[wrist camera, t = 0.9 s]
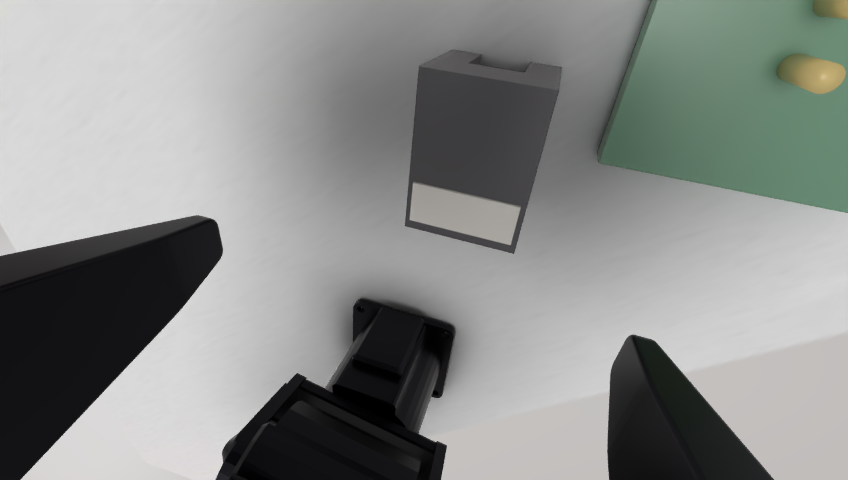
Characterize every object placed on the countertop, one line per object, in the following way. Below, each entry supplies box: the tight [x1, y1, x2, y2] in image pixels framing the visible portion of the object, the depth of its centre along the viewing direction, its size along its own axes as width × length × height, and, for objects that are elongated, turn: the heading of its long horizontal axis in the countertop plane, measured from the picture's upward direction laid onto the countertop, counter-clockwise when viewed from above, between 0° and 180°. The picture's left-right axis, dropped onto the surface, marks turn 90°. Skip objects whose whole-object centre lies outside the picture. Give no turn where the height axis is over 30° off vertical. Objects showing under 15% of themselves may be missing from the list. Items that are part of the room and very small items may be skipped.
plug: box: [405, 50, 562, 254], centre depth 16 cm, size 6×4×5 cm
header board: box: [597, 0, 848, 213], centre depth 11 cm, size 12×9×3 cm
